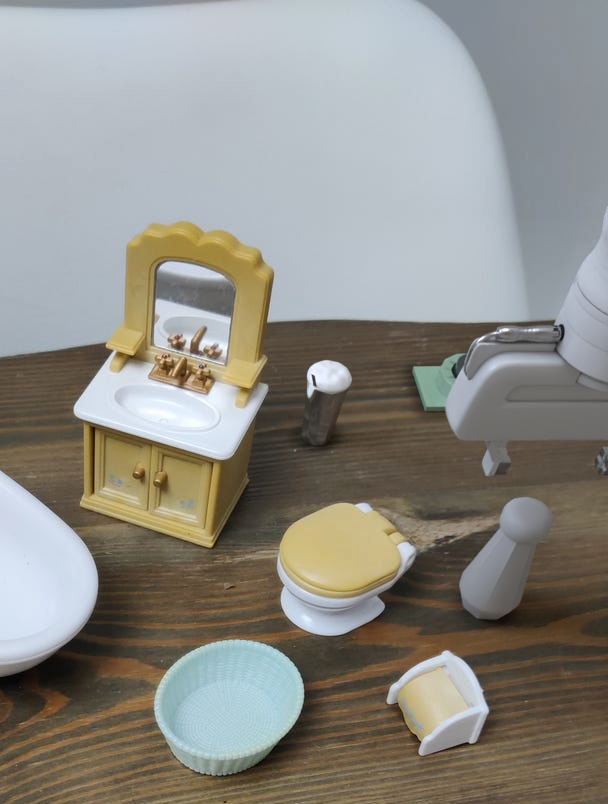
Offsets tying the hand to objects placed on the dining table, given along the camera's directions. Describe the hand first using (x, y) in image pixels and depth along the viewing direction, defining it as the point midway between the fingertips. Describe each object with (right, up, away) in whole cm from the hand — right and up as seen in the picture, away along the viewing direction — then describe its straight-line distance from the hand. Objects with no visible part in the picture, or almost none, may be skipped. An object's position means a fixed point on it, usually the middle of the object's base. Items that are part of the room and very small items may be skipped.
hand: (549, 470), depth 80 cm
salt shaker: (0, -10, +14) cm, 18 cm away
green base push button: (+4, +15, +33) cm, 36 cm away
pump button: (+4, +16, +31) cm, 35 cm away
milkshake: (-14, +8, +28) cm, 32 cm away
